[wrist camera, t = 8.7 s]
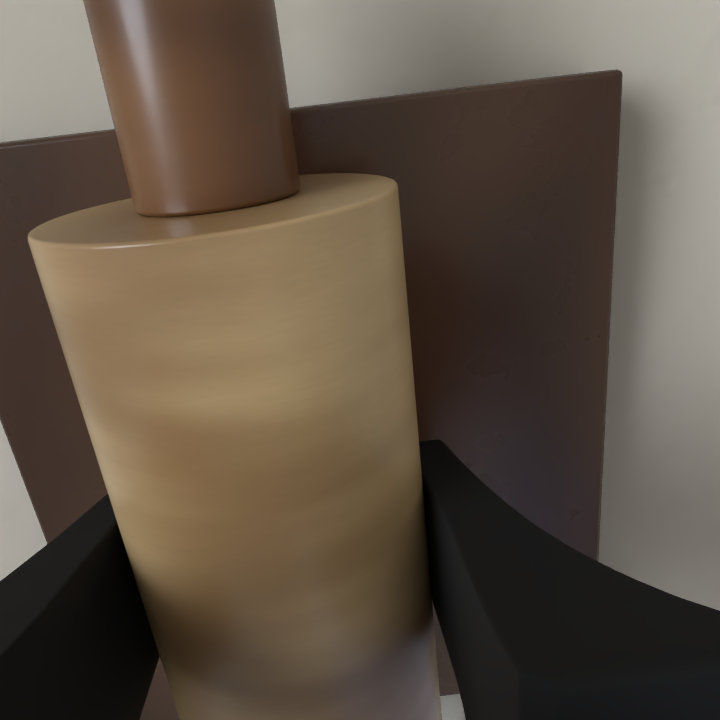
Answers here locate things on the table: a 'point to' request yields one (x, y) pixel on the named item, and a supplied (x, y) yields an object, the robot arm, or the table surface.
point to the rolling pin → (248, 381)
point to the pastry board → (423, 284)
